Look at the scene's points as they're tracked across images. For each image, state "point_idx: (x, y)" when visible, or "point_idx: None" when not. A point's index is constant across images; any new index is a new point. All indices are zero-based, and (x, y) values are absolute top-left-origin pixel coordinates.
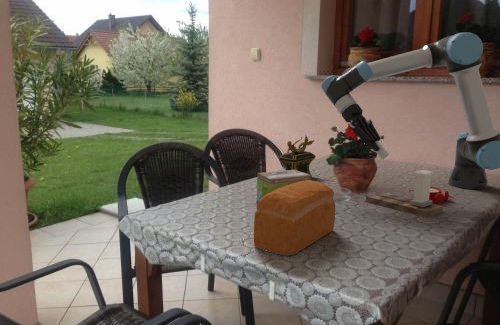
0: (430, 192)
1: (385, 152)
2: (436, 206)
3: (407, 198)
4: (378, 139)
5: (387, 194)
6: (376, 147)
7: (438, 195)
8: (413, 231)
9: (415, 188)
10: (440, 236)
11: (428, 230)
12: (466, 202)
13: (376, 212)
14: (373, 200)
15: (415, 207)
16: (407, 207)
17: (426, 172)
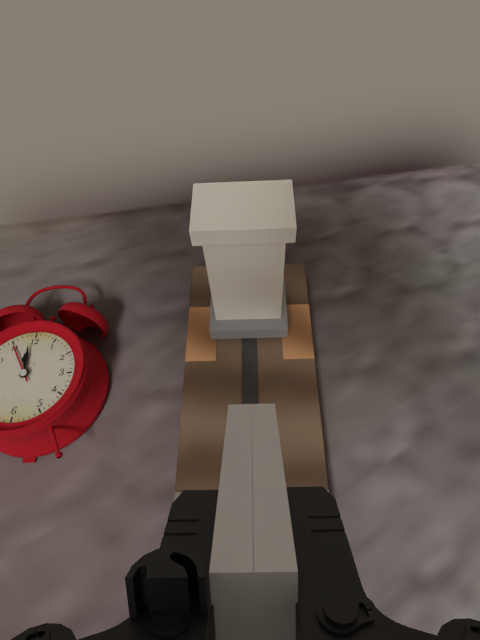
0: (79, 340)
1: (265, 419)
2: None
3: (190, 400)
4: (203, 575)
5: None
6: (340, 519)
7: (93, 309)
8: (464, 245)
9: (282, 278)
10: (423, 195)
11: (413, 227)
12: (9, 280)
13: (429, 425)
14: None
15: (298, 310)
16: (311, 337)
17: (243, 192)
